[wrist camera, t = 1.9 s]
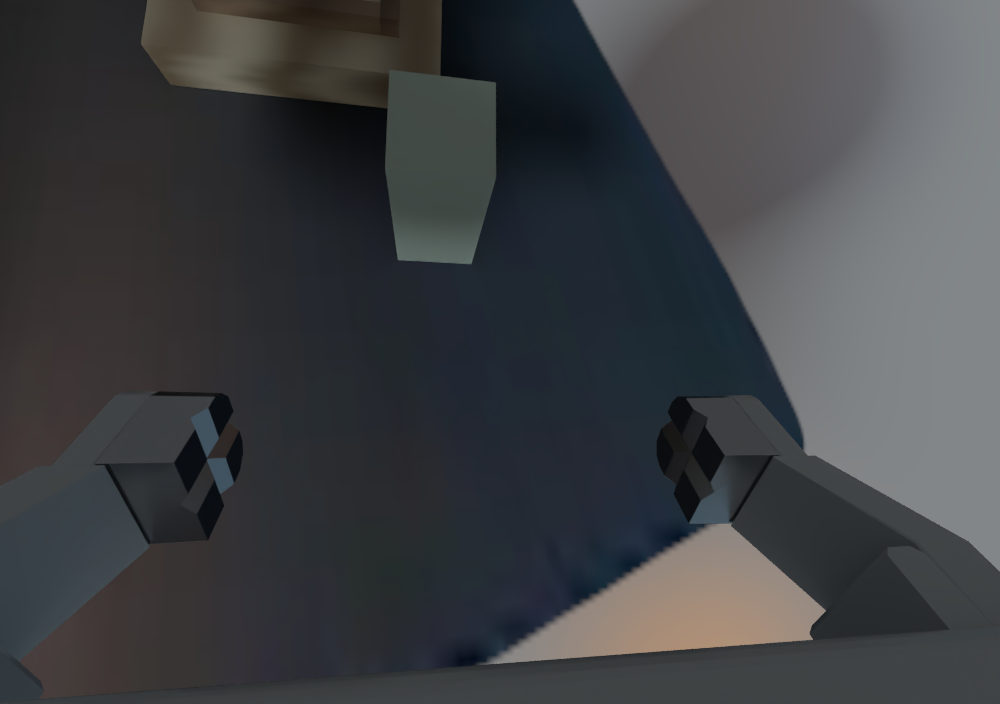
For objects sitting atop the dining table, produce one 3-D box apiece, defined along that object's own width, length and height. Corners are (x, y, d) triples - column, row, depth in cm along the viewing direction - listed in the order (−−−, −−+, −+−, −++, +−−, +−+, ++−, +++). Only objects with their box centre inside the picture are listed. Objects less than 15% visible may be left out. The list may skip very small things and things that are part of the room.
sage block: (398, 259, 28) (385, 168, 18) (400, 191, 29) (389, 69, 19) (471, 264, 29) (496, 177, 19) (471, 197, 30) (495, 82, 20)
